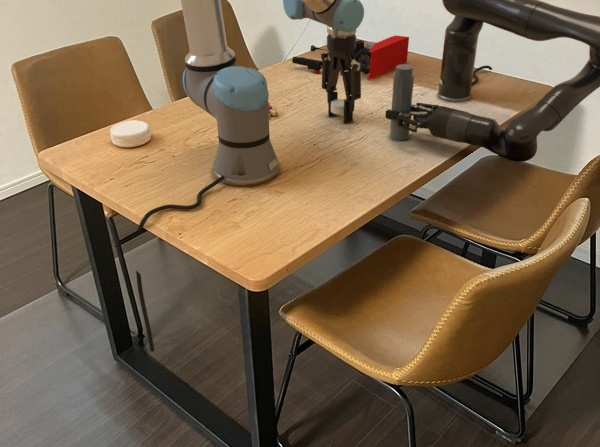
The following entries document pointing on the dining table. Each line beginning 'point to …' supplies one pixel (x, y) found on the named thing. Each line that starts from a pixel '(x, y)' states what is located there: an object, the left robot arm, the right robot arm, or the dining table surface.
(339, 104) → the lid
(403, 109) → the grey cylinder
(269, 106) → the toy figure
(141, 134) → the white round container
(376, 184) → the dining table surface
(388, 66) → the electric hoist
